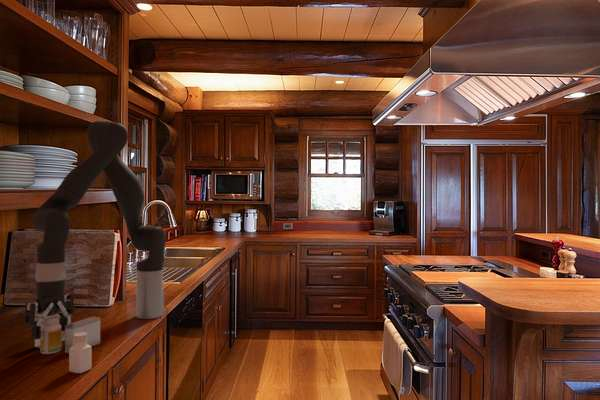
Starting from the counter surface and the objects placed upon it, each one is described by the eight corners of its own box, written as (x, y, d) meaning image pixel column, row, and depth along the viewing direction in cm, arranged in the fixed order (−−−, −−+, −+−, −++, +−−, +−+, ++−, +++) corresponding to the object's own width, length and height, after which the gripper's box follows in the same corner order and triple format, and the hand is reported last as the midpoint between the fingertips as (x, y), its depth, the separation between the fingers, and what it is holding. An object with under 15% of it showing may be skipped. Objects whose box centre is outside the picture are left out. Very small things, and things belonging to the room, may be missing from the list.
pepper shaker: (68, 372, 116) (68, 335, 116) (81, 366, 120) (81, 330, 119) (79, 374, 114) (79, 337, 114) (92, 369, 118) (92, 332, 118)
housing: (63, 336, 143) (63, 312, 143) (100, 343, 138) (100, 317, 138) (34, 346, 134) (34, 320, 134) (73, 354, 129) (73, 326, 128)
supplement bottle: (65, 348, 133) (65, 315, 133) (55, 354, 128) (55, 320, 128) (46, 348, 133) (46, 315, 133) (36, 354, 128) (36, 320, 128)
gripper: (62, 273, 138) (61, 326, 138) (18, 281, 125) (17, 340, 125) (80, 275, 135) (80, 329, 135) (37, 283, 122) (37, 343, 122)
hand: (50, 334), depth 130 cm, fingers open, 8 cm apart
